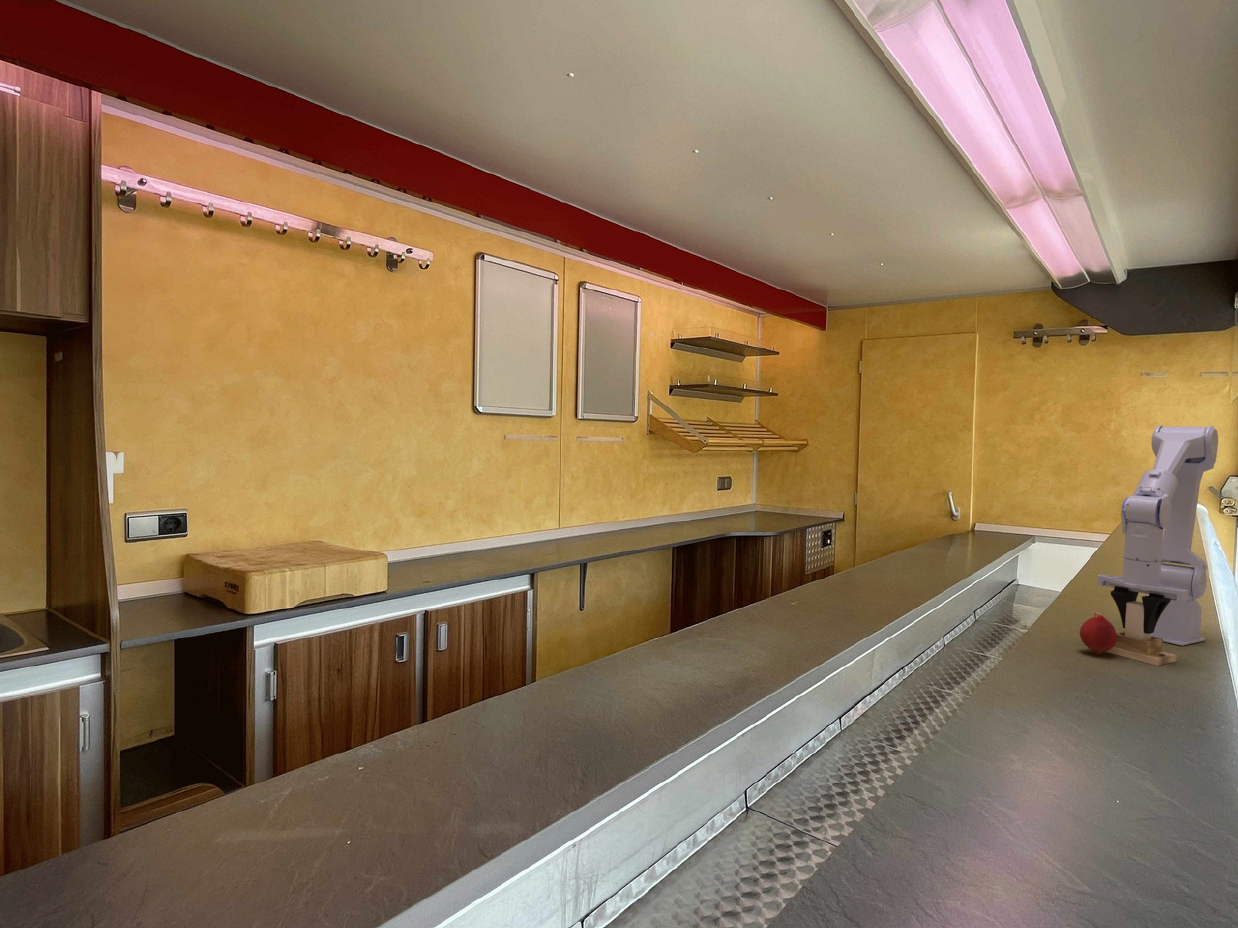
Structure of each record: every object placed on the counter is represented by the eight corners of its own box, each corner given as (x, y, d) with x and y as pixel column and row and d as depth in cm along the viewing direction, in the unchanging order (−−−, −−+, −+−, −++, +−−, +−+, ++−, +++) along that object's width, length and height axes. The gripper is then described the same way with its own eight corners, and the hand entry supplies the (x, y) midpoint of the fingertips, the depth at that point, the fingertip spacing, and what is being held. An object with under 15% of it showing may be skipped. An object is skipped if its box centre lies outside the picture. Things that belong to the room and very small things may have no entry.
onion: (1104, 650, 135) (1106, 609, 134) (1123, 659, 129) (1125, 617, 129) (1072, 648, 135) (1074, 607, 135) (1089, 658, 130) (1092, 615, 129)
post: (1132, 642, 134) (1135, 601, 133) (1150, 646, 131) (1153, 604, 131) (1124, 643, 132) (1126, 602, 132) (1141, 648, 130) (1144, 606, 129)
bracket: (1117, 645, 138) (1118, 627, 138) (1176, 661, 129) (1177, 641, 129) (1098, 649, 135) (1099, 630, 135) (1157, 665, 126) (1158, 645, 126)
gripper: (1089, 554, 136) (1085, 622, 136) (1175, 567, 123) (1171, 643, 123) (1110, 551, 139) (1106, 619, 139) (1196, 565, 126) (1191, 639, 127)
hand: (1138, 630), depth 132 cm, fingers closed on post, 3 cm apart
